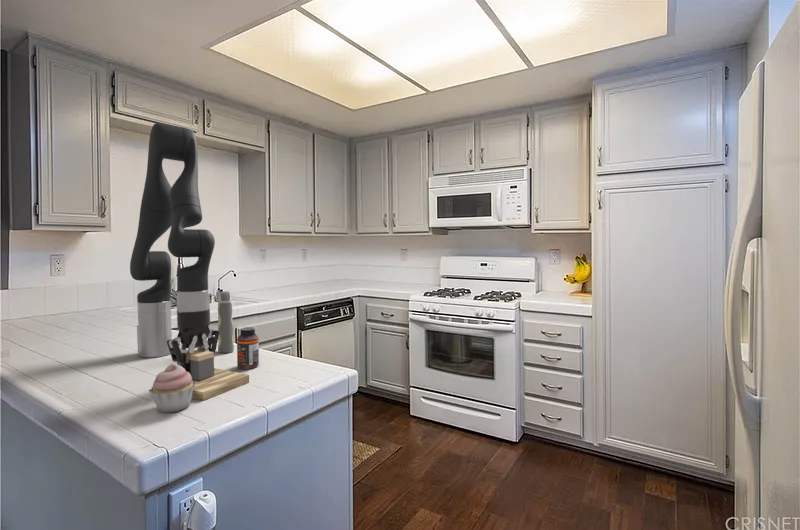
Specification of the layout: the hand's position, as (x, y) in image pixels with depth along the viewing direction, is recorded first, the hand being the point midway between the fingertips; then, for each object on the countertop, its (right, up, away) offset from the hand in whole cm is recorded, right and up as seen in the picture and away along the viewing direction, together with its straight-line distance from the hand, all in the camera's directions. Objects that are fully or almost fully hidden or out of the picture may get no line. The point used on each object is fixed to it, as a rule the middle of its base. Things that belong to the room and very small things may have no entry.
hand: (195, 373), depth 108 cm
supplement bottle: (+8, -2, +15) cm, 17 cm away
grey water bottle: (-5, -1, +31) cm, 32 cm away
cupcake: (+3, -4, -15) cm, 16 cm away
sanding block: (0, 0, 0) cm, 0 cm away
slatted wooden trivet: (+4, -3, -1) cm, 5 cm away
